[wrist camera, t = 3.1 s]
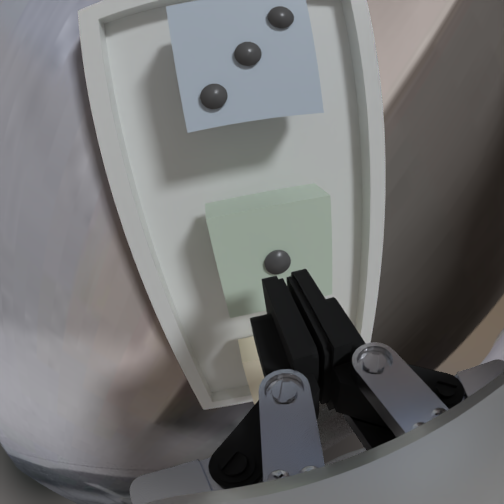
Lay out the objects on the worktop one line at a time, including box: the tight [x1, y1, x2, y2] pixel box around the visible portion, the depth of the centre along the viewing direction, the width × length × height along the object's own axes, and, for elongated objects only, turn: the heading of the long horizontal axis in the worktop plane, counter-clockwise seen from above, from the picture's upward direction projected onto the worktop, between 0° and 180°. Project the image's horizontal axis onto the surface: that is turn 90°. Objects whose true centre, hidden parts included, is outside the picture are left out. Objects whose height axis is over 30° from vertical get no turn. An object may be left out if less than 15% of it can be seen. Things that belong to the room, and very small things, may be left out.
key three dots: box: [166, 0, 324, 133], centre depth 10 cm, size 5×5×2 cm
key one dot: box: [205, 183, 332, 318], centre depth 14 cm, size 5×5×2 cm
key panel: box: [78, 0, 385, 410], centre depth 16 cm, size 14×28×2 cm, turn 9°
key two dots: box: [238, 336, 264, 405], centre depth 19 cm, size 5×5×2 cm
